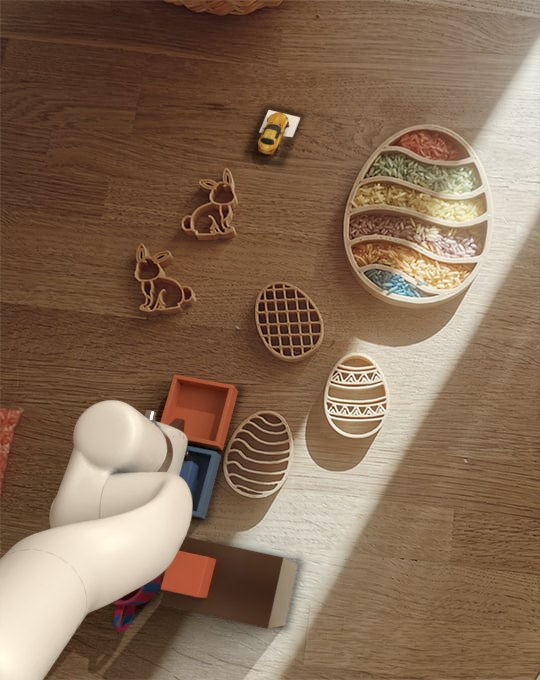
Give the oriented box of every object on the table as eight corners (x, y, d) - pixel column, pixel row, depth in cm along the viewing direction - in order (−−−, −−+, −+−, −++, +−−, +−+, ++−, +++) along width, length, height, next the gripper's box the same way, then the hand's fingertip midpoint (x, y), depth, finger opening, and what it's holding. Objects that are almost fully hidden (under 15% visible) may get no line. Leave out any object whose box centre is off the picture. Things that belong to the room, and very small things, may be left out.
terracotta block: (206, 597, 85) (197, 597, 81) (170, 590, 86) (160, 589, 82) (216, 559, 87) (208, 557, 83) (181, 551, 87) (171, 549, 83)
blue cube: (192, 497, 104) (184, 493, 100) (162, 491, 105) (153, 486, 101) (200, 467, 106) (192, 461, 101) (171, 461, 106) (162, 455, 102)
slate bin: (205, 519, 104) (199, 516, 101) (144, 506, 105) (136, 503, 102) (221, 456, 107) (216, 451, 104) (162, 444, 108) (155, 439, 105)
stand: (285, 625, 99) (267, 628, 84) (193, 604, 100) (160, 604, 85) (298, 564, 101) (283, 557, 86) (208, 545, 103) (178, 535, 88)
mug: (167, 559, 103) (152, 555, 96) (148, 634, 99) (132, 636, 93) (121, 550, 103) (104, 547, 97) (102, 625, 100) (82, 626, 94)
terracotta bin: (223, 451, 107) (217, 446, 104) (163, 439, 108) (156, 434, 105) (238, 391, 110) (233, 385, 107) (180, 381, 111) (174, 374, 108)
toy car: (293, 119, 126) (291, 111, 124) (276, 160, 124) (274, 151, 121) (271, 114, 127) (269, 105, 125) (254, 154, 124) (251, 146, 122)
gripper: (131, 381, 90) (171, 417, 108) (88, 518, 85) (138, 532, 102) (189, 392, 90) (220, 426, 107) (149, 531, 84) (189, 543, 101)
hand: (179, 478), depth 104 cm, fingers closed on blue cube, 4 cm apart
